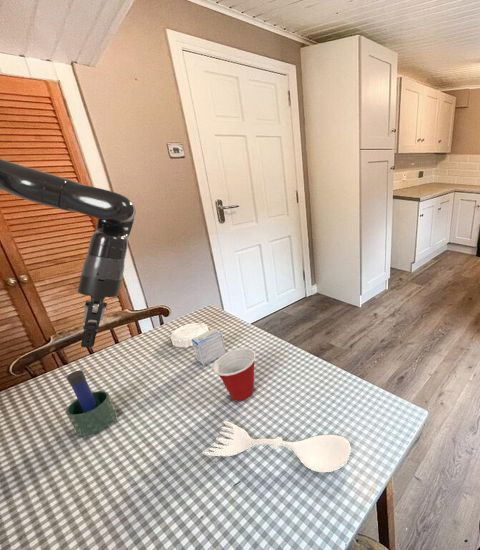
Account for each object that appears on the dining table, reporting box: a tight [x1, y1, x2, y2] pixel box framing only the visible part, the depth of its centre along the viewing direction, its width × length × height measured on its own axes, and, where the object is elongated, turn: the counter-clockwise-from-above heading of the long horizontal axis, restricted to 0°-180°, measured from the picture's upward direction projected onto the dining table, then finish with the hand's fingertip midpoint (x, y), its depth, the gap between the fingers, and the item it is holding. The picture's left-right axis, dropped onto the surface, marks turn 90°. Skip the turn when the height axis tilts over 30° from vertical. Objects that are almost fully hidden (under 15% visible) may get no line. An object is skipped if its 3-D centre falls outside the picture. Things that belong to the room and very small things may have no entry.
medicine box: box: [192, 328, 227, 366], centre depth 99 cm, size 8×4×9 cm, turn 144°
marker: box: [66, 370, 98, 413], centre depth 73 cm, size 3×3×15 cm
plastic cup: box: [212, 347, 257, 402], centre depth 83 cm, size 11×11×12 cm
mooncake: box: [169, 322, 210, 349], centre depth 110 cm, size 12×12×4 cm
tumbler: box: [65, 390, 118, 437], centre depth 75 cm, size 8×8×7 cm
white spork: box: [201, 420, 352, 473], centre depth 68 cm, size 9×32×4 cm, turn 83°
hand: (88, 341), depth 72 cm, fingers open, 8 cm apart
